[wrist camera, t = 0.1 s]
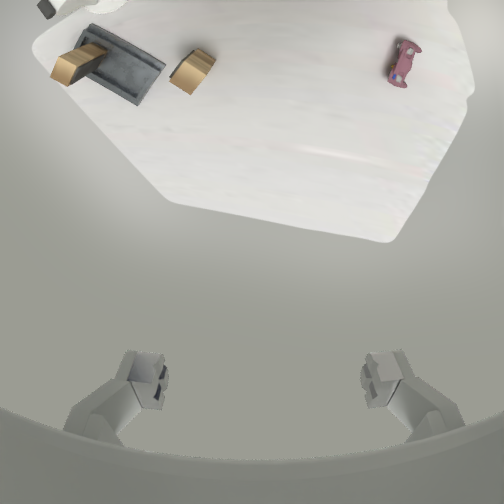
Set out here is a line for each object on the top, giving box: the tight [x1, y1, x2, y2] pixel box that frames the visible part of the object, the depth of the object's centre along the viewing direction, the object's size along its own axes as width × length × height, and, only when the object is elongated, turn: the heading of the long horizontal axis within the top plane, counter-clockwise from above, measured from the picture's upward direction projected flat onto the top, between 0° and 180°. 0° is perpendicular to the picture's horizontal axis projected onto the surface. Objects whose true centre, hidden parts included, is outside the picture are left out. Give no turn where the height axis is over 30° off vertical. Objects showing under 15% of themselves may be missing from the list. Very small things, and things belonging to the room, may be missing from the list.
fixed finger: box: [50, 42, 108, 87], centre depth 39 cm, size 4×4×12 cm
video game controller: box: [388, 40, 422, 88], centre depth 43 cm, size 10×5×7 cm, turn 167°
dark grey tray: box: [73, 24, 166, 106], centre depth 45 cm, size 10×18×2 cm, turn 50°
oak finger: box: [169, 48, 216, 95], centre depth 43 cm, size 4×4×12 cm
